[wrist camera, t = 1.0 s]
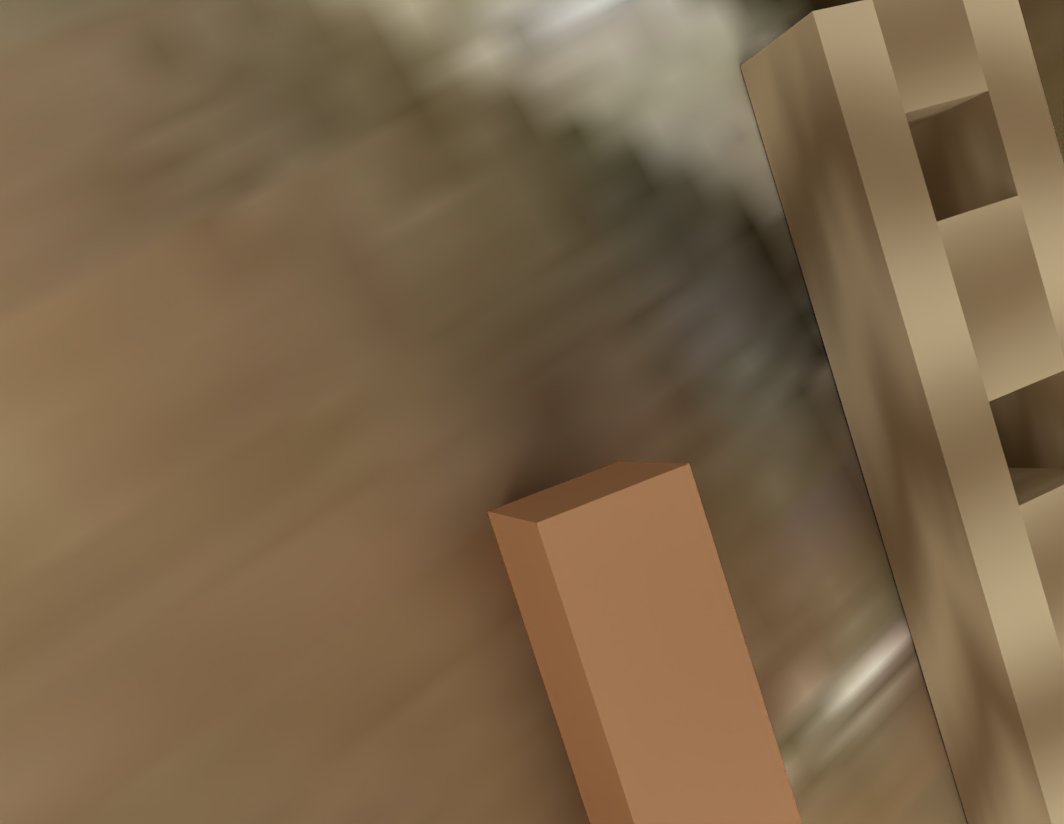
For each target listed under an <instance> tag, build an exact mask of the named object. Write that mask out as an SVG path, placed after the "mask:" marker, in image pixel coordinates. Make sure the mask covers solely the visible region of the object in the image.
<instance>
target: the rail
mask: <svg viewBox="0 0 1064 824" xmlns="http://www.w3.org/2000/svg"><path fill="white" fill-rule="evenodd" d="M740 67H741V70H742V73H743V77H744V80H745V83H746V87H747V90H748V93H749V97H750V100H751V103H752V107H753V110H754V113H755V117H756V120H757V123H758V127H759V130H760V133H761V137H762V140H763V143H764V146H765V150H766V153H767V156H768V160H769V163H770V166H771V170H772V173H773V176H774V180H775V183H776V186H777V190H778V193H779V196H780V200H781V203H782V206H783V210H784V213H785V216H786V220H787V223H788V226H789V230H790V233H791V236H792V240H793V243H794V246H795V250H796V253H797V256H798V260H799V263H800V266H801V270H802V273H803V276H804V280H805V283H806V286H807V289H808V293H809V296H810V299H811V303H812V306H813V309H814V313H815V316H816V319H817V323H818V326H819V329H820V333H821V336H822V339H823V343H824V346H825V349H826V353H827V356H828V359H829V363H830V366H831V369H832V373H833V376H834V379H835V383H836V386H837V389H838V393H839V396H840V399H841V403H842V406H843V409H844V413H845V416H846V419H847V423H848V426H849V429H850V433H851V436H852V439H853V442H854V446H855V449H856V452H857V456H858V459H859V462H860V466H861V469H862V472H863V476H864V479H865V482H866V486H867V489H868V492H869V496H870V499H871V502H872V506H873V509H874V512H875V516H876V519H877V522H878V526H879V529H880V532H881V536H882V539H883V542H884V546H885V549H886V552H887V556H888V559H889V562H890V566H891V569H892V572H893V576H894V579H895V582H896V585H897V589H898V592H899V595H900V599H901V602H902V605H903V609H904V612H905V615H906V619H907V622H908V625H909V629H910V632H911V635H912V639H913V642H914V645H915V649H916V652H917V655H918V659H919V662H920V665H921V669H922V672H923V675H924V679H925V682H926V685H927V689H928V692H929V695H930V699H931V702H932V705H933V709H934V712H935V715H936V719H937V722H938V725H939V729H940V732H941V735H942V738H943V742H944V745H945V748H946V752H947V755H948V758H949V762H950V765H951V768H952V772H953V775H954V778H955V782H956V785H957V788H958V792H959V795H960V798H961V802H962V805H963V808H964V812H965V815H966V818H967V822H968V824H1064V163H1063V159H1062V155H1061V152H1060V148H1059V145H1058V141H1057V138H1056V134H1055V130H1054V127H1053V123H1052V120H1051V116H1050V113H1049V109H1048V105H1047V102H1046V98H1045V95H1044V91H1043V88H1042V84H1041V80H1040V77H1039V73H1038V70H1037V66H1036V62H1035V59H1034V55H1033V52H1032V48H1031V45H1030V41H1029V37H1028V34H1027V30H1026V27H1025V23H1024V20H1023V16H1022V12H1021V9H1020V5H1019V2H1018V0H863V1H858V2H853V3H849V4H844V5H839V6H835V7H830V8H825V9H821V10H816V11H812V12H811V13H810V14H808V15H807V16H806V17H804V18H803V19H802V20H800V21H799V22H798V23H796V24H795V25H794V26H792V27H791V28H790V29H788V30H787V31H786V32H784V33H783V34H782V35H780V36H779V37H778V38H776V39H775V40H774V41H772V42H771V43H770V44H768V45H767V46H766V47H764V48H763V49H762V50H761V51H759V52H758V53H757V54H755V55H754V56H753V57H751V58H750V59H749V60H747V61H746V62H745V63H743V64H742V65H741V66H740Z"/></svg>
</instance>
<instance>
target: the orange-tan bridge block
mask: <svg viewBox="0 0 1064 824" xmlns="http://www.w3.org/2000/svg"><path fill="white" fill-rule="evenodd" d="M487 512H488V515H489V518H490V521H491V524H492V527H493V530H494V533H495V536H496V539H497V542H498V545H499V548H500V551H501V554H502V557H503V560H504V563H505V566H506V569H507V572H508V575H509V578H510V581H511V584H512V587H513V591H514V594H515V597H516V600H517V603H518V606H519V609H520V612H521V615H522V618H523V621H524V624H525V627H526V630H527V633H528V636H529V639H530V642H531V645H532V648H533V651H534V654H535V657H536V660H537V663H538V666H539V669H540V673H541V676H542V679H543V682H544V685H545V688H546V691H547V694H548V697H549V700H550V703H551V706H552V709H553V712H554V715H555V718H556V721H557V724H558V727H559V730H560V733H561V736H562V739H563V742H564V745H565V748H566V751H567V755H568V758H569V761H570V764H571V767H572V770H573V773H574V776H575V779H576V782H577V785H578V788H579V791H580V794H581V797H582V800H583V803H584V806H585V809H586V812H587V815H588V818H589V821H590V824H802V822H801V819H800V816H799V812H798V809H797V806H796V803H795V800H794V796H793V793H792V790H791V787H790V784H789V780H788V777H787V774H786V771H785V768H784V764H783V761H782V758H781V755H780V752H779V748H778V745H777V742H776V739H775V736H774V733H773V729H772V726H771V723H770V720H769V717H768V713H767V710H766V707H765V704H764V701H763V697H762V694H761V691H760V688H759V685H758V681H757V678H756V675H755V672H754V669H753V665H752V662H751V659H750V656H749V653H748V650H747V646H746V643H745V640H744V637H743V634H742V630H741V627H740V624H739V621H738V618H737V614H736V611H735V608H734V605H733V602H732V598H731V595H730V592H729V589H728V586H727V582H726V579H725V576H724V573H723V570H722V567H721V563H720V560H719V557H718V554H717V551H716V547H715V544H714V541H713V538H712V535H711V531H710V528H709V525H708V522H707V519H706V515H705V512H704V509H703V506H702V503H701V499H700V496H699V493H698V490H697V487H696V484H695V480H694V477H693V474H692V471H691V468H690V464H689V463H656V462H622V461H619V462H617V463H614V464H611V465H609V466H606V467H603V468H601V469H598V470H595V471H593V472H590V473H588V474H585V475H582V476H580V477H577V478H574V479H572V480H569V481H566V482H564V483H561V484H559V485H556V486H553V487H551V488H548V489H545V490H543V491H540V492H537V493H535V494H532V495H529V496H527V497H524V498H522V499H519V500H516V501H514V502H511V503H508V504H506V505H503V506H500V507H498V508H495V509H492V510H490V511H487Z"/></svg>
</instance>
